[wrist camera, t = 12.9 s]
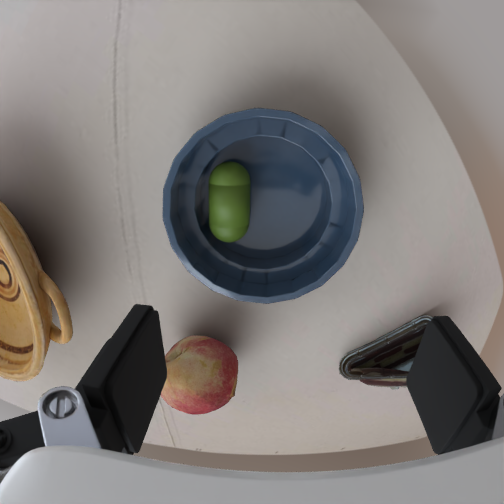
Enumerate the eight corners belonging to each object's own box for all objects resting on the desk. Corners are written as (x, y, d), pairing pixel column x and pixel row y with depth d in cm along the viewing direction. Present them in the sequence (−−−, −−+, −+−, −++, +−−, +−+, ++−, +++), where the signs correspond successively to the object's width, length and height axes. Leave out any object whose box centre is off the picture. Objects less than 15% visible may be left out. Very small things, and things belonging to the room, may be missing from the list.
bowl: (218, 88, 23) (207, 78, 18) (373, 160, 25) (395, 166, 20) (159, 238, 28) (140, 259, 23) (300, 297, 29) (306, 327, 25)
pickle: (255, 160, 24) (217, 159, 25) (244, 164, 21) (201, 162, 22) (253, 237, 27) (217, 233, 27) (242, 250, 24) (203, 245, 24)
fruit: (231, 314, 30) (222, 368, 23) (248, 370, 33) (245, 426, 26) (160, 324, 31) (135, 375, 24) (183, 377, 34) (168, 429, 27)
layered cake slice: (348, 394, 35) (434, 424, 26) (332, 373, 31) (435, 408, 22) (380, 331, 39) (462, 351, 30) (369, 302, 35) (465, 322, 26)
